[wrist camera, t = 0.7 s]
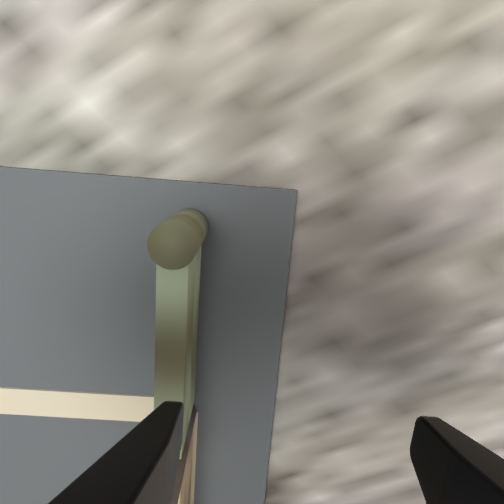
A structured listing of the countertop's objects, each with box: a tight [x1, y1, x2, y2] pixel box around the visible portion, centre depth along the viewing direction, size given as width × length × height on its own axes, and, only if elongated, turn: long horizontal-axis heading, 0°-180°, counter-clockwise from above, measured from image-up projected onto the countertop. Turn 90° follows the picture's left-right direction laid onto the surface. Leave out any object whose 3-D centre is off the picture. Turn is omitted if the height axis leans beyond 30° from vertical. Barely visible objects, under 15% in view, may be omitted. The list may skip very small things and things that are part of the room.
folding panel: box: [147, 208, 209, 459], centre depth 16 cm, size 10×2×4 cm, turn 175°
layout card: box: [0, 167, 297, 504], centre depth 20 cm, size 25×19×1 cm
